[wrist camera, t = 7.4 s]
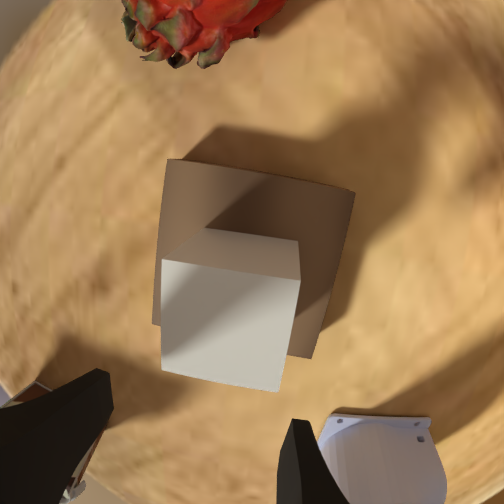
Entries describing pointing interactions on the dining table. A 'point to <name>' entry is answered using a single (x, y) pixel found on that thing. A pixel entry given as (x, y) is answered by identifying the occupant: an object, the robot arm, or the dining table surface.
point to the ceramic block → (229, 307)
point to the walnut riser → (260, 227)
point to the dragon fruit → (193, 27)
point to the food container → (73, 486)
